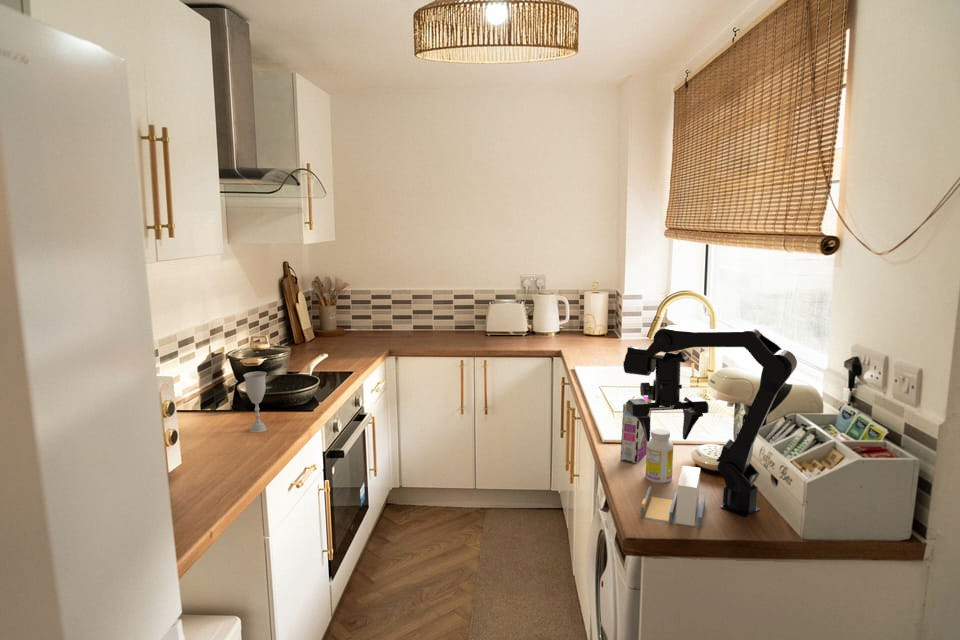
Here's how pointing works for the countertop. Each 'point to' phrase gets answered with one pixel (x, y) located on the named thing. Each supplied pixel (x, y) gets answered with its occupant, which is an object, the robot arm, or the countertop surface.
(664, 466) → the supplement bottle
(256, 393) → the chalice
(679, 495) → the white rectangular box
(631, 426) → the candy bar box
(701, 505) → the slot rack
